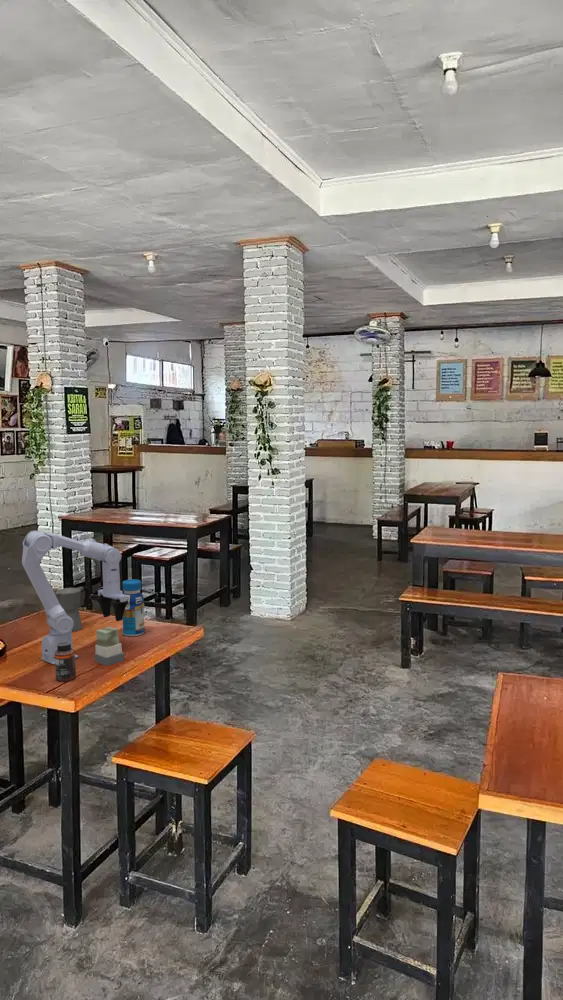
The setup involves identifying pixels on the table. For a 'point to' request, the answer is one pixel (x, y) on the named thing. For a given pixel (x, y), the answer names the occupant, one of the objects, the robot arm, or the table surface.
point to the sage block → (107, 637)
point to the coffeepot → (72, 603)
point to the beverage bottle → (133, 609)
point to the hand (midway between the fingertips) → (112, 618)
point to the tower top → (108, 650)
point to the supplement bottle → (65, 662)
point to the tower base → (109, 659)
